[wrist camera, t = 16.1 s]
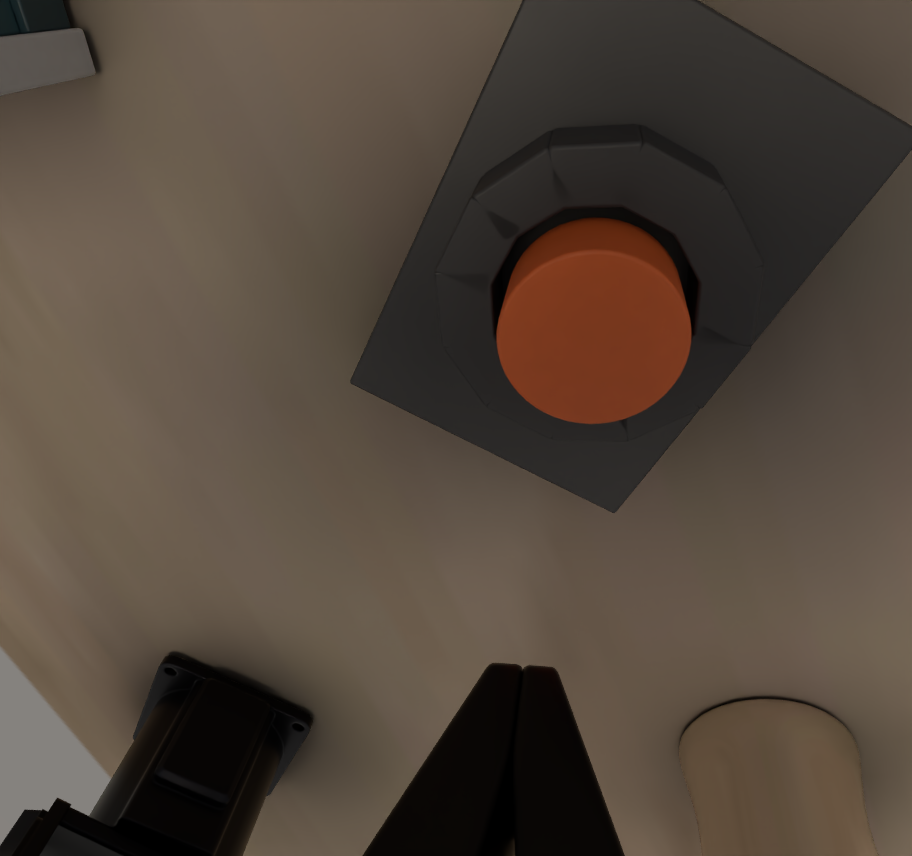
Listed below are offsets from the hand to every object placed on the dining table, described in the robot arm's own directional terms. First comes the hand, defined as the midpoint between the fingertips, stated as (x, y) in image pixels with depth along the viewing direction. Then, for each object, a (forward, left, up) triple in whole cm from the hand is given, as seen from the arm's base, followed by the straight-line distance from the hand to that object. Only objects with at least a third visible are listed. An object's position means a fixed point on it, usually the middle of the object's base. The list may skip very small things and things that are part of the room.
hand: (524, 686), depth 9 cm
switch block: (+2, 0, -12) cm, 12 cm away
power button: (+2, 0, -9) cm, 9 cm away
